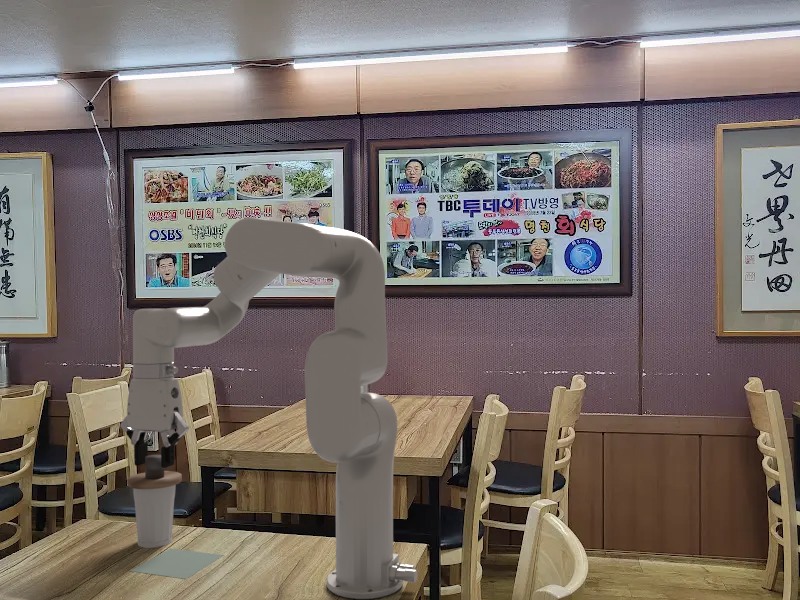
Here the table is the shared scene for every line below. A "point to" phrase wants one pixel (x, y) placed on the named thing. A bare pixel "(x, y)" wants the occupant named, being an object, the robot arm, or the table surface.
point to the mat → (177, 563)
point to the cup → (154, 516)
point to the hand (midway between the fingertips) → (154, 464)
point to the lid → (154, 475)
